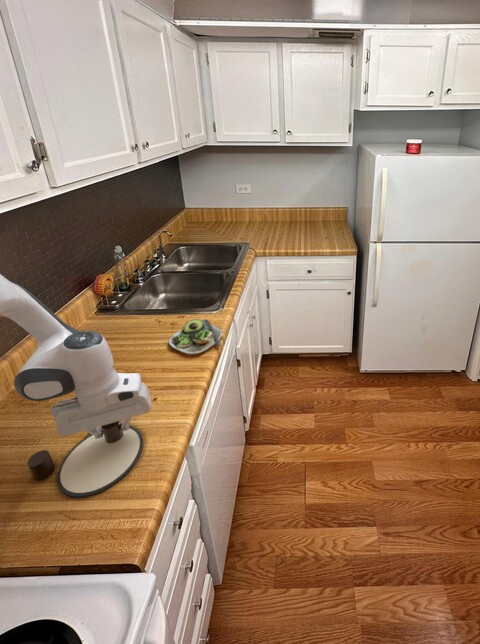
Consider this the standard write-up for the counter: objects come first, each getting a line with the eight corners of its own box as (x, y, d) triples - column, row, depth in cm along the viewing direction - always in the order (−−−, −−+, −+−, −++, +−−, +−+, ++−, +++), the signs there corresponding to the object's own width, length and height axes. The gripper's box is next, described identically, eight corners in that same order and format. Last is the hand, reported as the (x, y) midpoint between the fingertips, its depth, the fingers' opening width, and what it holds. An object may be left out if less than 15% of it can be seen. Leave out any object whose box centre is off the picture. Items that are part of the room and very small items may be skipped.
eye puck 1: (31, 484, 76) (23, 469, 74) (37, 467, 79) (30, 453, 77) (52, 477, 77) (45, 462, 75) (57, 461, 80) (51, 447, 78)
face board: (45, 511, 70) (44, 509, 70) (69, 439, 86) (68, 437, 86) (139, 479, 76) (139, 477, 76) (145, 417, 92) (145, 415, 92)
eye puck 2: (104, 445, 84) (99, 431, 82) (107, 432, 87) (102, 418, 85) (122, 440, 85) (117, 426, 83) (124, 427, 88) (120, 413, 86)
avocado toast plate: (236, 336, 125) (235, 326, 123) (199, 364, 111) (197, 353, 109) (201, 320, 135) (200, 311, 133) (162, 345, 120) (160, 334, 119)
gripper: (43, 415, 74) (61, 457, 79) (144, 389, 81) (155, 429, 86) (52, 394, 79) (69, 435, 85) (146, 371, 86) (156, 410, 91)
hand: (113, 432), depth 85 cm, fingers open, 5 cm apart
